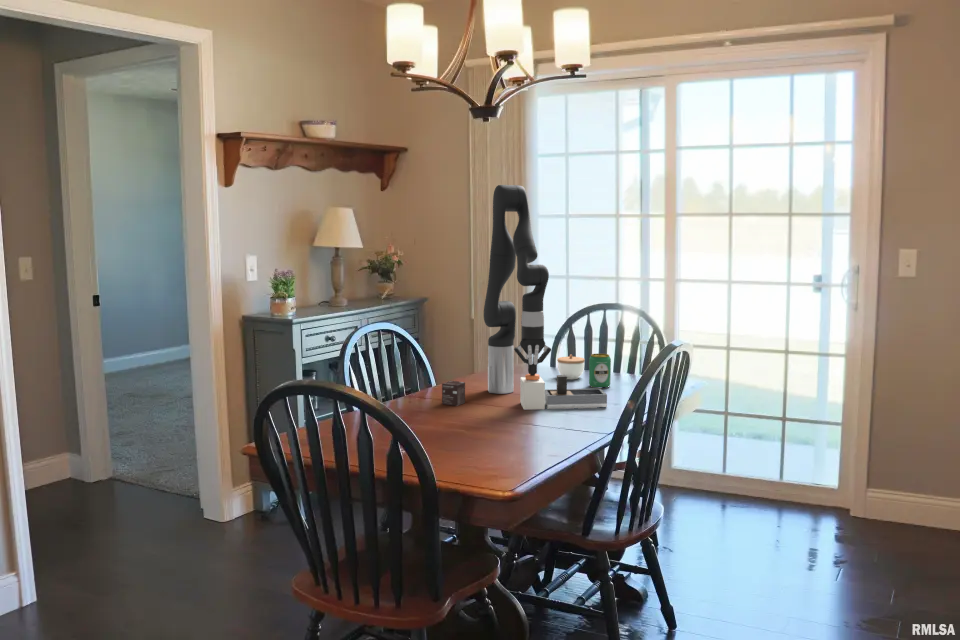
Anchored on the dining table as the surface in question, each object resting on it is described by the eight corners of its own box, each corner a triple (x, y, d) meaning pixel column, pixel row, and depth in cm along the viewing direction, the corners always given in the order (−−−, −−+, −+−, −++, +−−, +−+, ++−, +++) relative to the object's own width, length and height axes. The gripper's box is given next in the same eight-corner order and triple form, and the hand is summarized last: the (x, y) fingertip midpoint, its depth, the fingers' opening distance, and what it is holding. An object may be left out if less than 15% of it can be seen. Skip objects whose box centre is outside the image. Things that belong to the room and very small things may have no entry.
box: (441, 404, 283) (441, 383, 282) (450, 401, 288) (450, 380, 287) (457, 406, 280) (456, 385, 279) (465, 402, 285) (465, 381, 284)
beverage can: (590, 388, 307) (591, 356, 306) (587, 384, 315) (587, 353, 313) (612, 388, 307) (612, 356, 306) (608, 384, 315) (608, 353, 314)
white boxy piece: (523, 409, 274) (523, 383, 273) (520, 402, 284) (520, 377, 283) (544, 409, 275) (544, 382, 274) (540, 402, 285) (540, 376, 284)
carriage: (553, 402, 276) (553, 378, 275) (549, 398, 283) (549, 374, 282) (573, 402, 277) (573, 377, 276) (569, 397, 284) (570, 373, 283)
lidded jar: (554, 375, 332) (554, 353, 331) (579, 374, 334) (580, 352, 332) (561, 381, 321) (561, 357, 320) (587, 380, 323) (588, 356, 322)
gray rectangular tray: (547, 409, 275) (547, 395, 274) (543, 402, 285) (543, 389, 284) (606, 407, 276) (607, 394, 276) (600, 401, 286) (600, 388, 286)
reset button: (526, 390, 276) (526, 376, 276) (524, 387, 281) (524, 373, 280) (540, 390, 277) (540, 376, 276) (538, 387, 281) (538, 373, 281)
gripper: (514, 326, 272) (514, 377, 274) (553, 325, 273) (553, 377, 275) (511, 323, 279) (511, 373, 281) (550, 322, 280) (550, 372, 282)
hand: (532, 375), depth 278 cm, fingers closed
